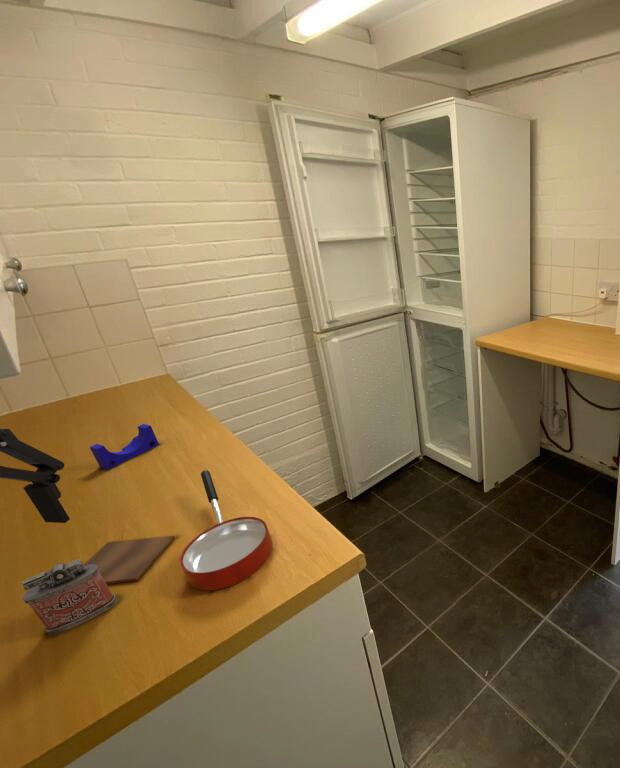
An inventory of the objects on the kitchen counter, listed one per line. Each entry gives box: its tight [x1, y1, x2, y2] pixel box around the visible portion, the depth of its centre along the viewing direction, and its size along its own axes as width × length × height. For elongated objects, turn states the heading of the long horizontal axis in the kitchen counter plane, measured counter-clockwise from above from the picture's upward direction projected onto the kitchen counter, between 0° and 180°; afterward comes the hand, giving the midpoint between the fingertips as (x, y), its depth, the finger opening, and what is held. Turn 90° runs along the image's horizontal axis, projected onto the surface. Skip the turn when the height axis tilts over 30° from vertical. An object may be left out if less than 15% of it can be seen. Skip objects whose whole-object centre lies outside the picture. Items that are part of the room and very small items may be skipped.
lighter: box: [21, 558, 118, 636], centre depth 64 cm, size 8×3×10 cm, turn 133°
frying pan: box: [179, 469, 274, 591], centre depth 80 cm, size 32×13×6 cm, turn 46°
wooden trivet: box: [83, 535, 176, 585], centre depth 75 cm, size 12×10×1 cm
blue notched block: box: [89, 423, 160, 470], centre depth 108 cm, size 12×4×6 cm, turn 159°
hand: (7, 561), depth 54 cm, fingers open, 13 cm apart
